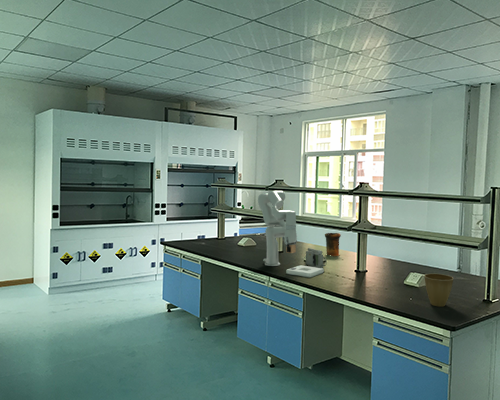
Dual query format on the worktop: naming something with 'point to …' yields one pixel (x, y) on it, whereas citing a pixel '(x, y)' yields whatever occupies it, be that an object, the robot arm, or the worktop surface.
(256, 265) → the worktop surface
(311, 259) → the geiger counter
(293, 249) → the plug
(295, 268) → the socket plate
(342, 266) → the worktop surface
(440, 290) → the plant pot
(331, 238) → the vessel
